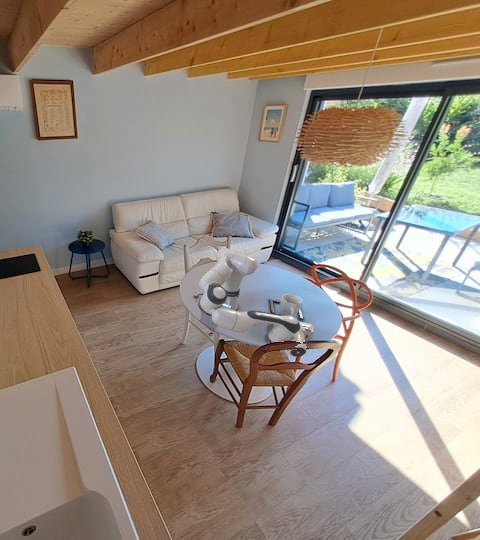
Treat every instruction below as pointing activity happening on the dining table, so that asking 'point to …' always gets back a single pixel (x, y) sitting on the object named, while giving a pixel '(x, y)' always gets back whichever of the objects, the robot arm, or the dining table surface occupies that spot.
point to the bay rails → (279, 302)
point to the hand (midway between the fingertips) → (291, 317)
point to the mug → (290, 305)
